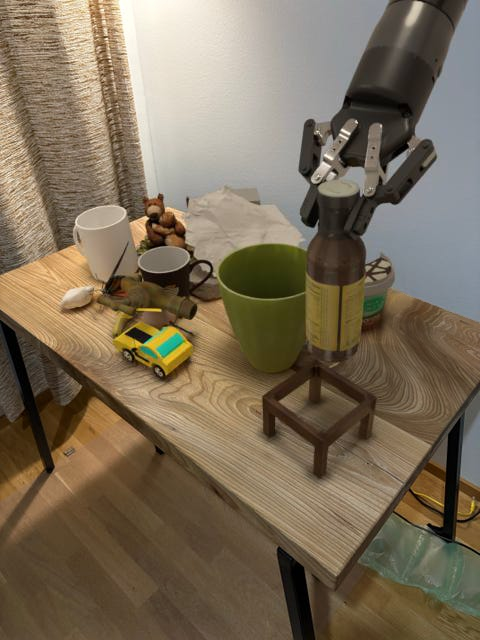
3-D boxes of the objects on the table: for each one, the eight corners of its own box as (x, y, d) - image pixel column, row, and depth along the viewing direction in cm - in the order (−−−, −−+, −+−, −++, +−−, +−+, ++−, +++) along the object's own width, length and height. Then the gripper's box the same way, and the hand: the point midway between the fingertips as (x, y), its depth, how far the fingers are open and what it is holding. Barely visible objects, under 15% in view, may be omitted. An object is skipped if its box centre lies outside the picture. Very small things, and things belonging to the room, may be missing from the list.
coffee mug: (139, 320, 92) (129, 270, 86) (157, 292, 98) (149, 244, 92) (204, 327, 89) (198, 276, 83) (217, 298, 96) (213, 249, 90)
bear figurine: (133, 278, 103) (122, 221, 95) (139, 241, 115) (129, 187, 107) (204, 272, 103) (199, 215, 96) (202, 236, 115) (197, 182, 108)
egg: (157, 314, 93) (134, 333, 88) (157, 288, 90) (133, 306, 85) (182, 323, 92) (161, 342, 86) (183, 297, 89) (161, 316, 84)
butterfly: (69, 276, 89) (119, 259, 86) (88, 247, 97) (135, 230, 93) (107, 330, 95) (155, 316, 92) (122, 299, 103) (167, 285, 100)
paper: (169, 185, 99) (188, 287, 95) (180, 169, 93) (200, 276, 90) (279, 188, 109) (300, 280, 106) (294, 174, 104) (316, 270, 100)
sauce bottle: (354, 329, 65) (371, 171, 53) (363, 364, 60) (384, 199, 48) (301, 331, 65) (305, 174, 53) (305, 366, 60) (312, 202, 48)
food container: (352, 347, 84) (357, 294, 78) (324, 328, 88) (327, 277, 82) (404, 317, 89) (413, 266, 83) (376, 301, 93) (383, 251, 87)
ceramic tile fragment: (210, 308, 93) (245, 284, 100) (208, 292, 91) (245, 269, 98) (162, 289, 100) (198, 267, 106) (159, 273, 98) (196, 252, 104)
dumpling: (75, 319, 93) (64, 302, 91) (61, 313, 97) (50, 296, 95) (106, 296, 96) (95, 278, 94) (91, 290, 100) (81, 273, 98)
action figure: (211, 293, 86) (163, 311, 72) (205, 317, 87) (157, 339, 73) (134, 266, 90) (76, 277, 77) (130, 289, 91) (72, 305, 78)
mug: (135, 282, 101) (120, 227, 94) (73, 286, 102) (54, 232, 95) (144, 256, 109) (131, 203, 101) (87, 260, 110) (70, 208, 103)
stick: (194, 324, 88) (195, 336, 88) (192, 324, 88) (193, 336, 88) (170, 320, 83) (170, 332, 83) (167, 320, 83) (168, 333, 83)
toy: (263, 212, 102) (255, 181, 114) (223, 215, 101) (219, 184, 113) (264, 256, 108) (257, 222, 119) (227, 259, 107) (223, 225, 119)
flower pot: (215, 335, 88) (207, 250, 78) (302, 320, 90) (305, 235, 80) (234, 399, 76) (227, 308, 66) (333, 380, 78) (341, 289, 69)
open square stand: (371, 435, 70) (377, 397, 65) (319, 479, 65) (322, 441, 60) (314, 395, 76) (316, 358, 72) (263, 433, 71) (261, 395, 67)
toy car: (199, 358, 83) (194, 315, 78) (164, 387, 78) (156, 343, 73) (145, 331, 89) (136, 290, 84) (110, 356, 84) (99, 314, 79)
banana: (123, 302, 94) (144, 302, 93) (126, 310, 95) (147, 310, 94) (105, 332, 87) (127, 332, 86) (108, 340, 89) (130, 340, 88)
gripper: (321, 37, 52) (251, 198, 52) (468, 49, 45) (386, 236, 45) (345, 83, 59) (282, 226, 58) (477, 99, 51) (405, 263, 51)
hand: (328, 230), depth 52 cm, fingers closed on sauce bottle, 4 cm apart
